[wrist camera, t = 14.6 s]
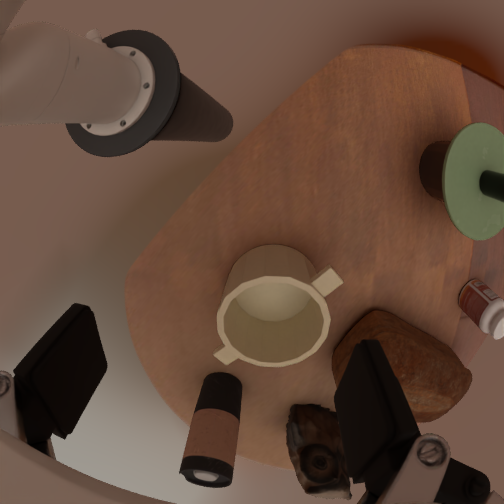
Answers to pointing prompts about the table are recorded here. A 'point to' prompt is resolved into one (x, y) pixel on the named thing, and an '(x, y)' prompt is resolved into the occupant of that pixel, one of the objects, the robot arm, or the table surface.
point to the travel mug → (213, 432)
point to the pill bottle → (483, 307)
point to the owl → (317, 451)
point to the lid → (475, 181)
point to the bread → (410, 363)
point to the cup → (433, 168)
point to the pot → (274, 308)
